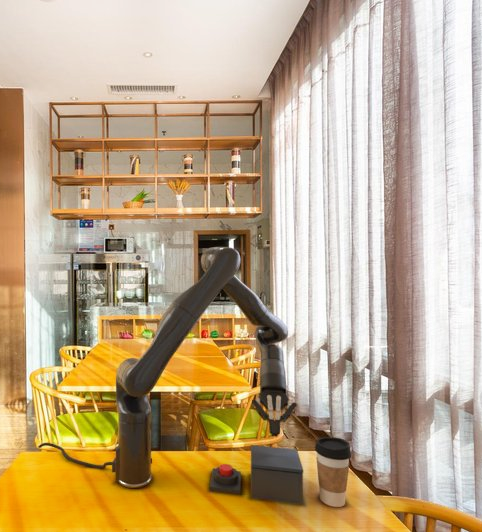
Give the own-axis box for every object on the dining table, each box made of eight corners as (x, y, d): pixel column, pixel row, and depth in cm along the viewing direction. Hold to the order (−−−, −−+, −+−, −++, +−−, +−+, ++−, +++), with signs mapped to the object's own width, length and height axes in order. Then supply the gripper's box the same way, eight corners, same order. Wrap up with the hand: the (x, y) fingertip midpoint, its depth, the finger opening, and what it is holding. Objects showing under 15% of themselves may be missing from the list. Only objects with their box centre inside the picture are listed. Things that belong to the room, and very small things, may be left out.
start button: (218, 476, 108) (218, 469, 108) (219, 469, 112) (219, 463, 112) (232, 477, 107) (232, 471, 107) (232, 470, 111) (232, 464, 111)
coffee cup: (354, 512, 97) (355, 450, 97) (317, 507, 98) (318, 447, 98) (345, 493, 105) (346, 436, 105) (311, 489, 107) (312, 433, 107)
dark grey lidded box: (302, 504, 100) (302, 473, 100) (251, 498, 102) (251, 468, 102) (296, 480, 111) (297, 452, 111) (250, 475, 114) (250, 447, 114)
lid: (303, 473, 99) (303, 470, 99) (251, 467, 101) (251, 464, 101) (297, 452, 111) (297, 449, 111) (250, 447, 114) (250, 444, 114)
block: (209, 491, 105) (209, 479, 105) (212, 472, 115) (212, 461, 115) (240, 495, 104) (240, 483, 104) (241, 475, 113) (241, 464, 113)
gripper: (250, 369, 119) (250, 427, 107) (296, 372, 116) (302, 431, 104) (250, 382, 124) (249, 438, 112) (294, 385, 121) (299, 443, 109)
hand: (275, 435), depth 108 cm, fingers closed
